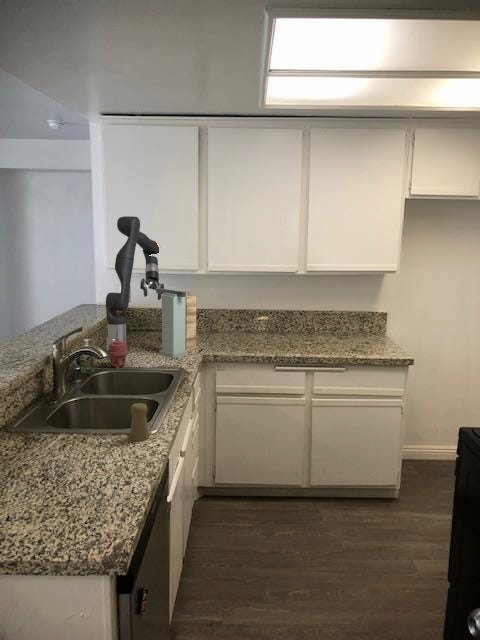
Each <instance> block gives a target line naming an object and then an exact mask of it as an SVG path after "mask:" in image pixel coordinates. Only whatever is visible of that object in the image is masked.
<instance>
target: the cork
mask: <svg viewBox="0 0 480 640" xmlns="http://www.w3.org/2000/svg"><path fill="white" fill-rule="evenodd" d="M147 413H148V406H147V404H146V403H141V402H138V403H137V402H136V403H133V404H132V405H131V407H130V414H131V423H130V424H131V425H130V432H129V440H130V441H131V442H134V443H135V442H136V443H137V442H138V443H140V442H145V441H148V440H149V439H150V434H149V426H148V421H147Z"/></svg>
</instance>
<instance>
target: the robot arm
mask: <svg viewBox="0 0 480 640" xmlns="http://www.w3.org/2000/svg"><path fill="white" fill-rule="evenodd" d="M116 227H117V230H118V231H119V233H121V234H122V235H123V236H125V237H127V240H126V242H125V243H124V245H122V247H121V248H120V249H119V251H118V252H117V254H116V257H115V262H114V270H115V273H116V275H117V278H118V280H119V282H120V292H108V293H107V294H106V297H105V310H106V311H105V312H106V313H105V314H106V319H107V337H106V352H107V351H108V350H109V344H110V343H113V342H115V341H121V342H123V343H126V344H127V319H126V317H124V316H123V315H121V314H120V313H118V312H124V311H127V310H128V307H129V303H130V294H131V293H130V291H131V280H132V274H133V267H134V262H135V256H136V255H135V253H136V246H137V245H138V246H139V247H140V248H141V249H143V250H142V253H143V257H144V260H145V271H144V272H145V277H143V278H142V279H140V283H139V284H140V285H139V286H140V287H139V288H140V290H143V296H144V297H147V296H148V289H150V290H153V291H155V292H156V289H157V288H162V289H165V285H164V283H160V282H159V280H160V278H159V277H160V276H159V275H160V273H159V272H160V271H159V270H160V269H159V259H158V258H157V256H156V255H158V254H157V253H159V247H158V245H157V243H158V242H157V241H155V240H153V239H151V238H149V236H148V235H147V234H146V233H144V232H141V231H140V229H141V220H140V218H139V217H137V216H132V215H131V216H129V215H128V216H126V215H125V216H120V217H119V218H118V219H117V221H116ZM156 242H157V243H156ZM151 254H156V255H152V256H149V255H151ZM159 254H160V253H159ZM160 300H162V294H159V293H157V301H160ZM108 357H110V355H108ZM125 357H127V355H125Z"/></svg>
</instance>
